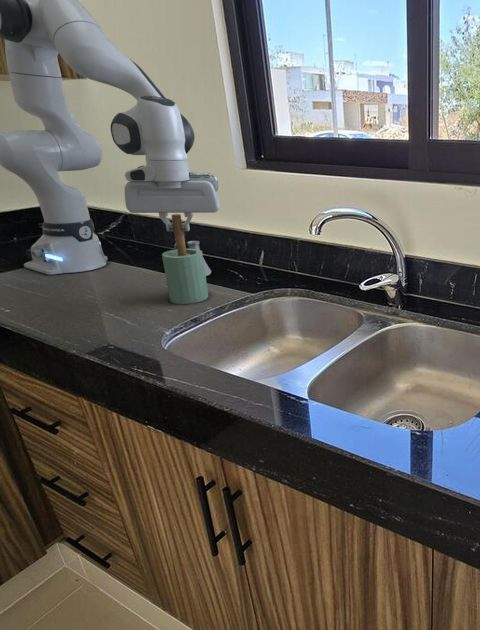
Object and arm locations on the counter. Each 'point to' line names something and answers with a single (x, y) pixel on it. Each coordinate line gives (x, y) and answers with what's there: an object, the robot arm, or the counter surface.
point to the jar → (185, 276)
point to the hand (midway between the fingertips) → (178, 230)
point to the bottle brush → (179, 235)
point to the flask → (207, 271)
